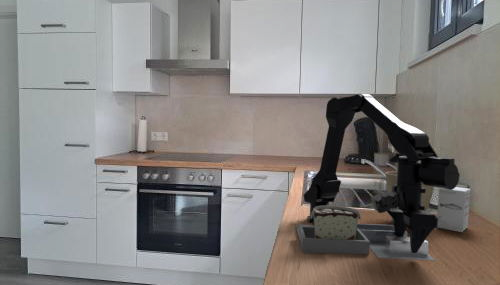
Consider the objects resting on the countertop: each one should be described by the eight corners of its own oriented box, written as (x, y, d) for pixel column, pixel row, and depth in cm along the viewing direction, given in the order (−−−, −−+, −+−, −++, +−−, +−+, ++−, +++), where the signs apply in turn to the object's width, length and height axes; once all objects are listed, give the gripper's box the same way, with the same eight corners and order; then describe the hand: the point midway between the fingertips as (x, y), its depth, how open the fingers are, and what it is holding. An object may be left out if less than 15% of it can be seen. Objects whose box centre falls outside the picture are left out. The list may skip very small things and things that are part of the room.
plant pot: (444, 228, 107) (447, 177, 106) (401, 230, 104) (404, 177, 103) (412, 216, 122) (414, 170, 121) (374, 217, 119) (376, 170, 118)
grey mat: (366, 244, 91) (366, 242, 91) (417, 246, 90) (417, 245, 90) (378, 259, 81) (378, 257, 81) (435, 261, 80) (435, 260, 80)
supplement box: (435, 227, 108) (438, 187, 107) (442, 223, 113) (444, 184, 113) (463, 233, 103) (465, 191, 102) (468, 228, 108) (471, 188, 108)
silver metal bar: (385, 248, 87) (385, 236, 87) (422, 250, 86) (422, 237, 86) (389, 253, 84) (390, 240, 83) (427, 255, 83) (428, 242, 83)
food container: (351, 242, 92) (353, 205, 92) (359, 251, 86) (361, 211, 86) (305, 241, 92) (306, 204, 91) (310, 250, 86) (311, 210, 85)
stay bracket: (354, 236, 98) (355, 223, 97) (398, 238, 97) (398, 225, 97) (360, 243, 92) (360, 230, 91) (406, 245, 91) (407, 232, 91)
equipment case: (295, 227, 105) (296, 215, 105) (348, 229, 104) (349, 217, 104) (302, 252, 84) (303, 238, 84) (369, 255, 83) (369, 241, 83)
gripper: (364, 175, 94) (362, 232, 95) (388, 188, 75) (385, 259, 76) (407, 177, 93) (404, 234, 94) (441, 190, 75) (437, 261, 75)
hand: (406, 245), depth 85 cm, fingers open, 9 cm apart
